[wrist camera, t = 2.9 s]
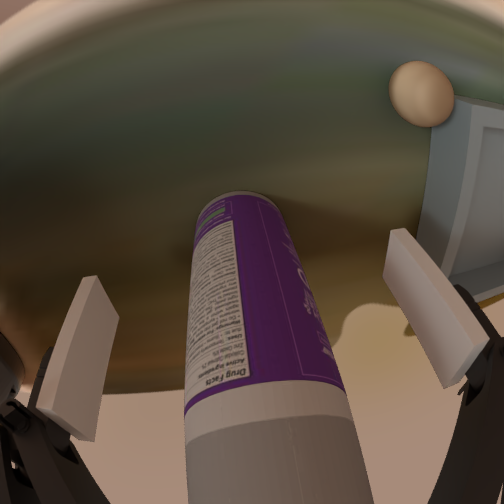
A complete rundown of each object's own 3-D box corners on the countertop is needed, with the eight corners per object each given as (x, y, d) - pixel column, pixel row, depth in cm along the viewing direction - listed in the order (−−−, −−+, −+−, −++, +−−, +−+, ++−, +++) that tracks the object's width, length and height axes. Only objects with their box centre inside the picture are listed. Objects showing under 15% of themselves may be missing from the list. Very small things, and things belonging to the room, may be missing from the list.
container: (302, 226, 16) (416, 536, 4) (243, 279, 18) (283, 562, 6) (236, 171, 14) (312, 598, 2) (177, 236, 16) (155, 574, 4)
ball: (376, 118, 13) (412, 135, 10) (375, 56, 11) (413, 59, 8) (426, 119, 13) (464, 137, 10) (427, 62, 11) (468, 70, 8)
